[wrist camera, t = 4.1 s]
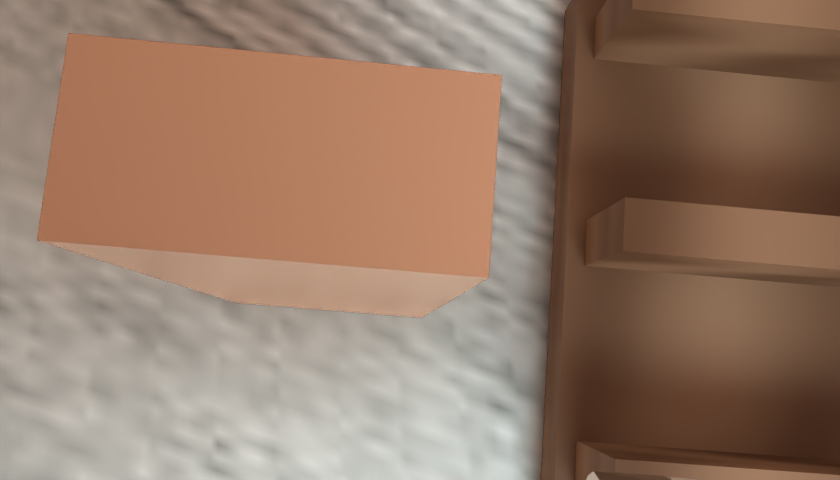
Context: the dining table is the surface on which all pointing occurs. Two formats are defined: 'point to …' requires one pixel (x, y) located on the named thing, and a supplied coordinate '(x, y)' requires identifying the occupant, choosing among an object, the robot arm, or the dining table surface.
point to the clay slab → (275, 174)
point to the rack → (696, 242)
